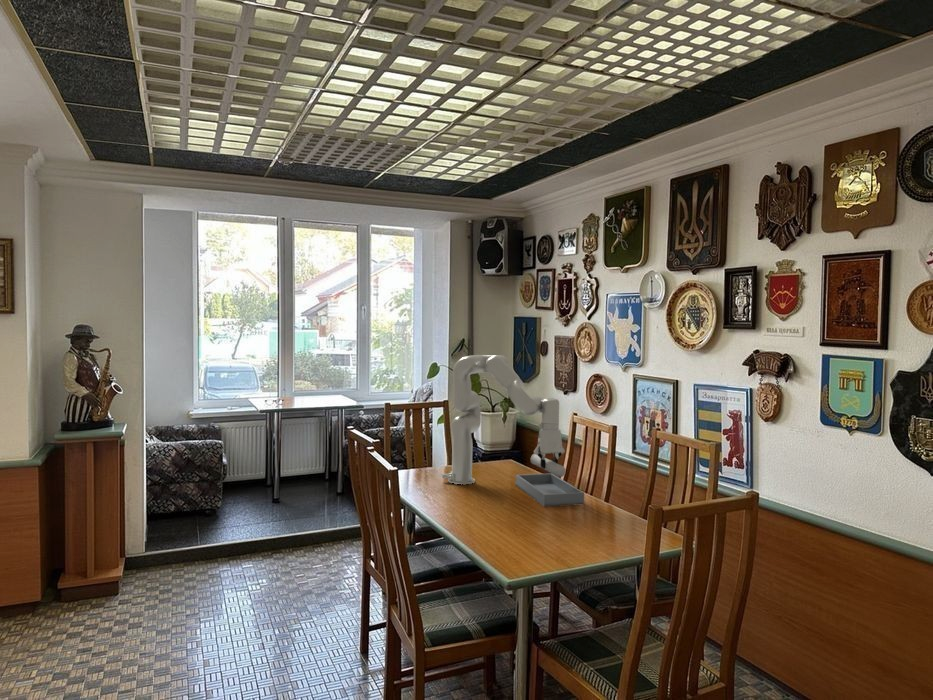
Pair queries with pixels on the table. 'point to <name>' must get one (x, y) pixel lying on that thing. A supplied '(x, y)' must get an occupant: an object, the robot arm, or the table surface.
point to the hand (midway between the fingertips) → (548, 467)
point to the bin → (549, 489)
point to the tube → (549, 466)
